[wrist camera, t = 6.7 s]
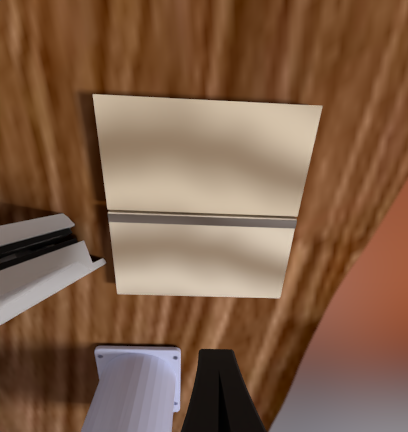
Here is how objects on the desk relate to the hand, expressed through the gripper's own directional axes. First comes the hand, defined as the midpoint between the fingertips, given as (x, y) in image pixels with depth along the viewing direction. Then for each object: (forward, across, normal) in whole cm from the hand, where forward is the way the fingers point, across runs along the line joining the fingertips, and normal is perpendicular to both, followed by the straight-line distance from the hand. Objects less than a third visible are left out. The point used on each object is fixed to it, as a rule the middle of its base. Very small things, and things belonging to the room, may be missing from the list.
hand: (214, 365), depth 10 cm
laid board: (+10, 0, 0) cm, 10 cm away
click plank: (+10, +1, -7) cm, 12 cm away
